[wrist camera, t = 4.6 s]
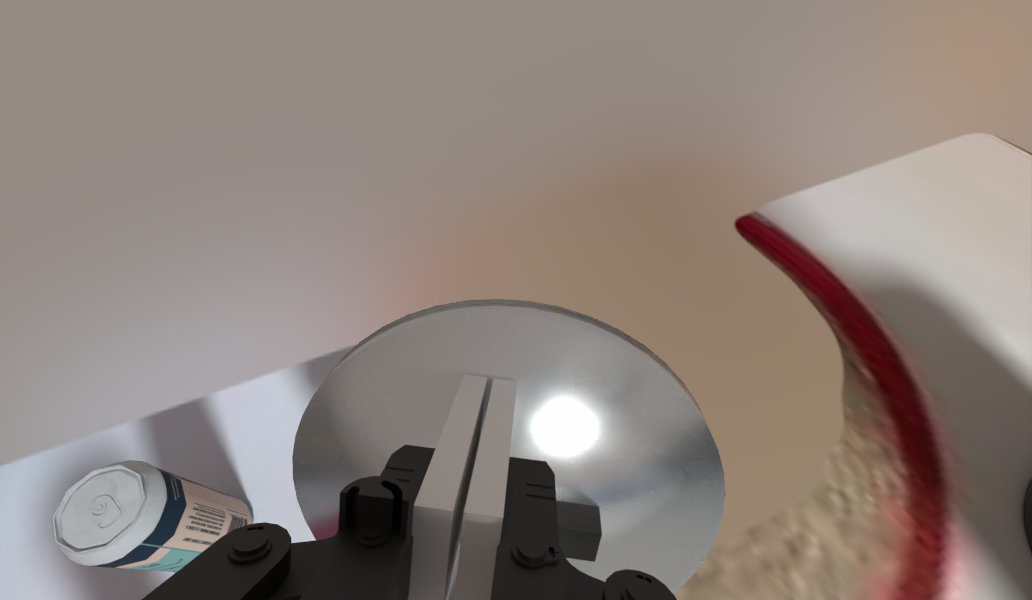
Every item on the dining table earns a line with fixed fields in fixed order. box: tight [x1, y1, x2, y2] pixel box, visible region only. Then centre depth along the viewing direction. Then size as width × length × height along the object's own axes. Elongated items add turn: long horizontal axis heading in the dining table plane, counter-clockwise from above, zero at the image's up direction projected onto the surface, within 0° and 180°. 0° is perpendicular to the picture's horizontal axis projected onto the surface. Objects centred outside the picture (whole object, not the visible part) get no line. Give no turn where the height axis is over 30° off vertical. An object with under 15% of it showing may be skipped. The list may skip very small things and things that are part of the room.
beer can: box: [52, 461, 253, 572], centre depth 28 cm, size 5×5×12 cm
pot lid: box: [292, 299, 725, 600], centre depth 18 cm, size 16×17×3 cm
